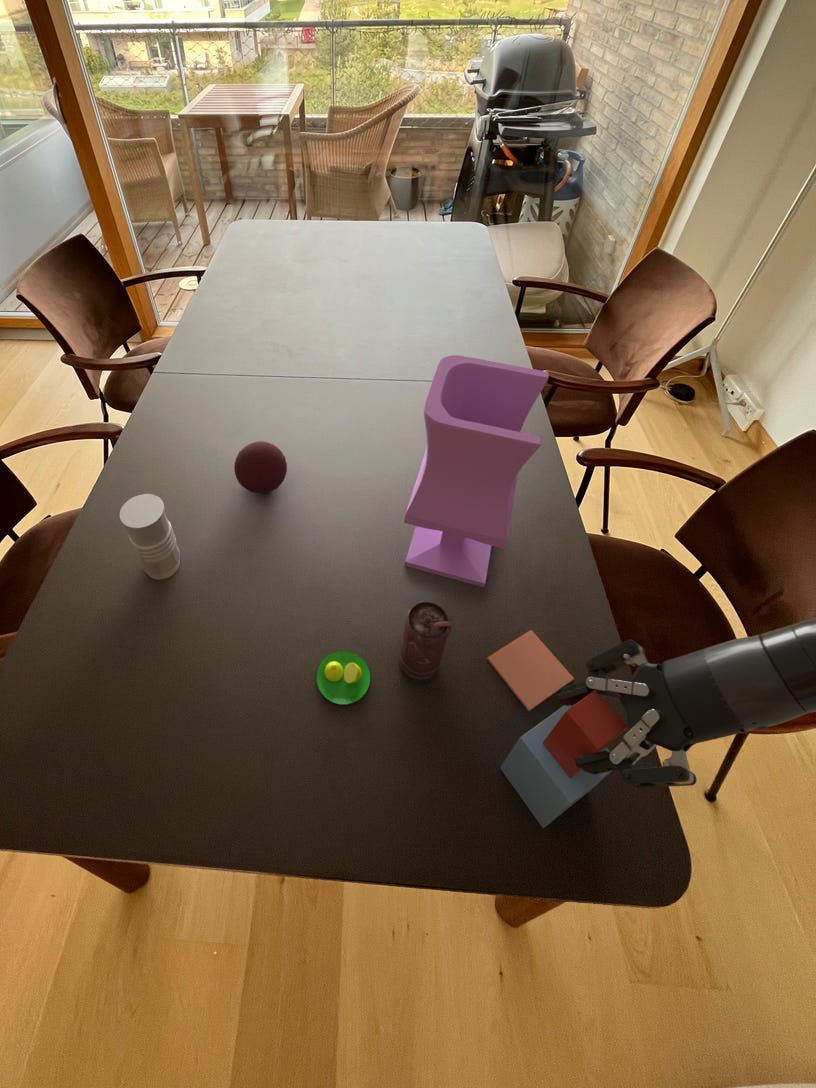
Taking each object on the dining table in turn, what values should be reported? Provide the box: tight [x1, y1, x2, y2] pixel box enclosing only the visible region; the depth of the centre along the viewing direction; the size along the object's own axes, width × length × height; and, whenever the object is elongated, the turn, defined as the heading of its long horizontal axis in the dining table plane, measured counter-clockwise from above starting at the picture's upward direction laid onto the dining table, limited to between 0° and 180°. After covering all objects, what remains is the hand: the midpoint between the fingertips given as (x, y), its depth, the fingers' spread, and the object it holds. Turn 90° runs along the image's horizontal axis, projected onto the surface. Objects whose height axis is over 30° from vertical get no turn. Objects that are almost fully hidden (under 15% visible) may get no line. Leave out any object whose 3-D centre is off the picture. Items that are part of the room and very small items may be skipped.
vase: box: [403, 354, 550, 588], centre depth 90 cm, size 16×16×35 cm
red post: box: [543, 690, 629, 778], centre depth 63 cm, size 4×4×10 cm
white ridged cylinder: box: [119, 493, 181, 580], centre depth 94 cm, size 7×7×15 cm
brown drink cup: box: [397, 601, 453, 684], centre depth 82 cm, size 6×6×14 cm
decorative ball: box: [233, 440, 288, 495], centre depth 109 cm, size 10×10×10 cm
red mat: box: [486, 629, 575, 712], centre depth 86 cm, size 9×9×1 cm
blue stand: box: [500, 704, 612, 829], centre depth 71 cm, size 8×8×12 cm
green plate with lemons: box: [316, 650, 371, 705], centre depth 84 cm, size 8×8×3 cm
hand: (570, 731), depth 62 cm, fingers closed on red post, 6 cm apart
